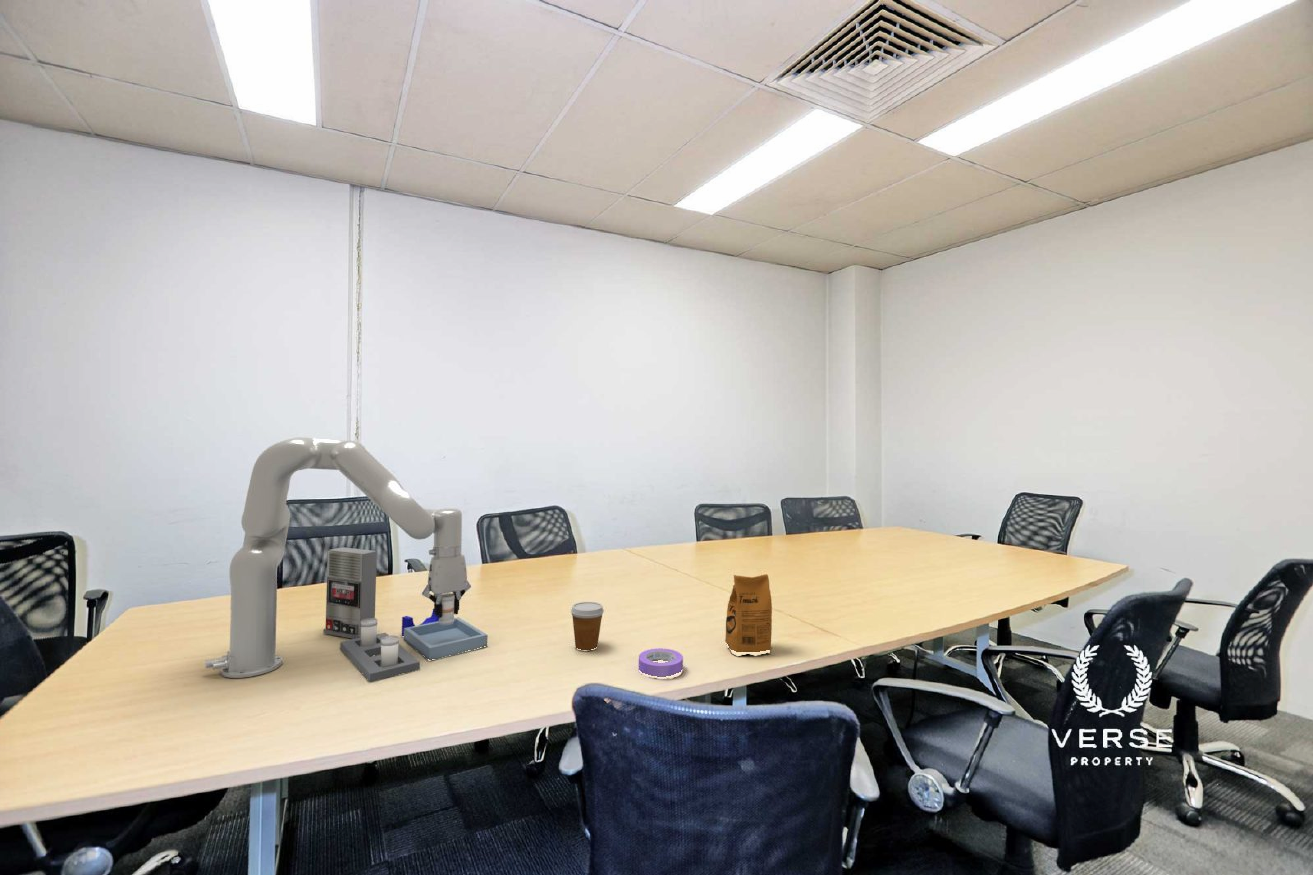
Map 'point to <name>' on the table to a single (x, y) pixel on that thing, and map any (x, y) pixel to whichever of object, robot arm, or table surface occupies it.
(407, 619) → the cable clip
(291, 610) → the table surface
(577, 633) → the disposable coffee cup
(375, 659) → the fuse holder
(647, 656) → the masking tape
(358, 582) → the cassette tape recorder
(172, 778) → the table surface
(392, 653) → the cylinder
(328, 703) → the table surface
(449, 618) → the marked fuse
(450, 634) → the tray
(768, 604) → the coffee package
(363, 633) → the cylinder
